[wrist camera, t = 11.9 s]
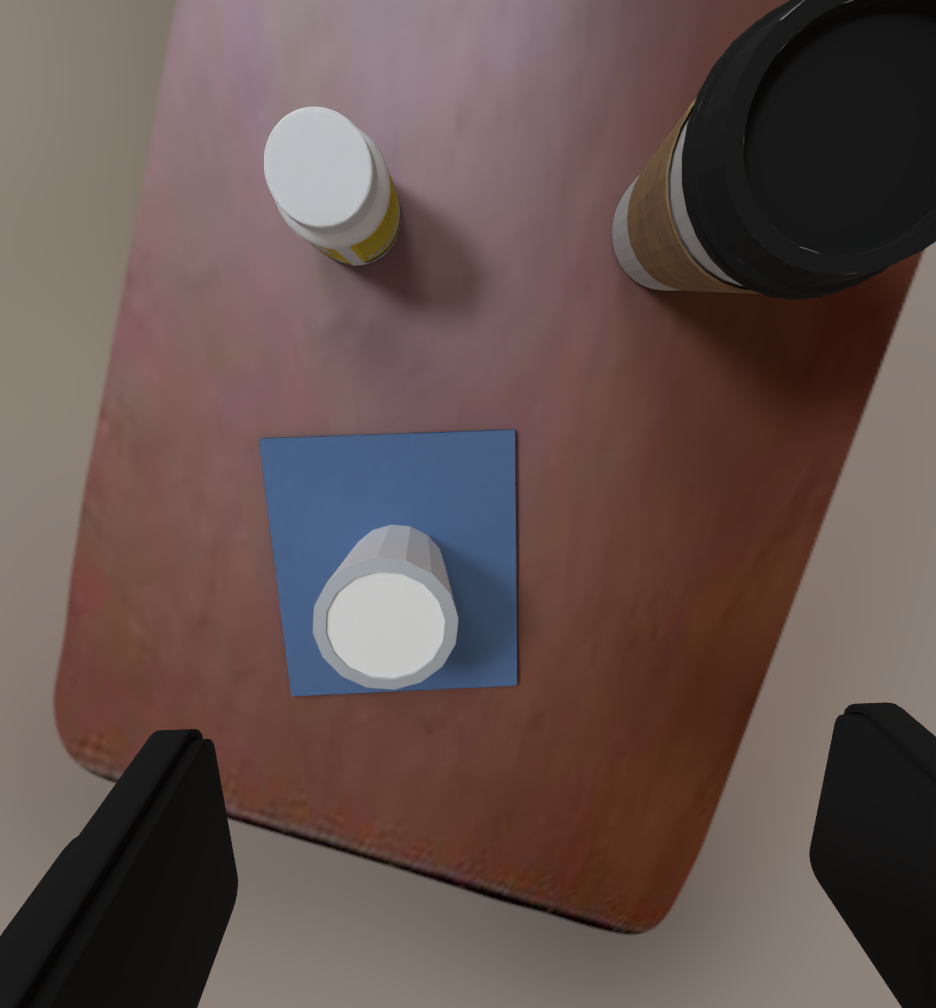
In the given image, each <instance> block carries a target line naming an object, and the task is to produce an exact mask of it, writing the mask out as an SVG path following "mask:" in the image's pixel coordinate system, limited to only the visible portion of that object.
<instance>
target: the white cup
mask: <svg viewBox="0 0 936 1008" xmlns="http://www.w3.org/2000/svg"><path fill="white" fill-rule="evenodd" d="M457 628H458V615H457V611H456V607H455V603H454V599H453V595H452V591H451V587H450V583H449V579H448V575H447V571H446V566H445V563H444V560H443V557H442V554H441V551H440V548H439V547H438V546H437V545H436V544H435V543H434V542H433V541H432V539H431V538H430V537H429V536H428V535H427V534H425V533H423V532H421V531H419V530H417V529H415V528H413V527H411V526H401V525H388V526H385V527H381V528H378V529H374V530H372V531H371V532H370V533H368V534H367V535H366V536H365V537H363V538H362V539H361V540H360V541H358V543H357V544H356V545H355V547H354V548H353V549H352V550H351V552H350V553H349V554H348V556H347V557H346V558H345V560H344V561H343V562H342V563H341V565H340V566H339V567H338V569H337V570H336V571H335V573H334V574H333V575H332V576H331V578H330V579H329V580H328V582H327V583H326V585H325V586H324V588H323V590H322V592H321V594H320V596H319V598H318V600H317V602H316V604H315V606H314V614H313V635H314V637H315V640H316V642H317V645H318V647H319V650H320V652H321V655H322V657H323V658H324V659H325V660H326V661H327V662H328V663H329V664H330V665H331V666H332V667H333V668H334V669H335V670H336V671H337V672H338V673H339V674H340V675H341V676H342V677H344V678H346V679H349V680H351V681H353V682H355V683H358V684H360V685H362V686H364V687H367V688H379V689H393V690H395V689H399V688H402V687H406V686H409V685H413V684H417V683H420V682H422V681H423V680H425V679H426V678H427V677H429V676H430V675H432V674H433V673H434V672H436V671H437V670H438V669H440V668H441V667H442V666H443V665H444V663H445V661H446V660H447V658H448V656H449V655H450V653H451V651H452V650H453V648H454V646H455V644H456V637H457Z"/></svg>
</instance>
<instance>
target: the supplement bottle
mask: <svg viewBox="0 0 936 1008" xmlns="http://www.w3.org/2000/svg"><path fill="white" fill-rule="evenodd" d="M264 172H265V177H266V182H267V185H268V187H269V190H270V192H271V194H272V196H273V198H274V199H275V202H276V205H277V208H278V210H279V212H280V214H281V215H282V217H283V219H284V220H285V222H286V223H287V224H288V225H289V227H290V228H291V229H292V230H293V231H294V232H295V233H296V234H297V235H299V236H300V237H301V238H302V239H304V240H305V241H307V242H308V243H310V244H311V245H312V246H314V247H315V248H317V249H318V250H320V251H321V252H322V253H324V254H325V255H327V256H328V257H329V258H331V259H333V260H335V261H337V262H340V263H342V264H346V265H353V266H357V265H365V264H369V263H372V262H374V261H376V260H378V259H379V258H381V257H382V256H384V255H385V254H386V253H387V252H388V251H389V250H390V249H391V247H392V246H393V244H394V243H395V241H396V239H397V236H398V234H399V230H400V225H401V208H400V202H399V198H398V195H397V192H396V190H395V187H394V184H393V181H392V179H391V176H390V173H389V170H388V168H387V165H386V162H385V160H384V157H383V155H382V154H381V152H380V150H379V149H378V147H377V146H376V145H375V143H374V142H373V141H372V140H371V139H370V138H369V137H368V136H367V135H366V134H365V133H364V132H363V131H361V130H360V129H358V128H357V127H356V126H355V125H354V124H353V123H352V122H351V121H350V120H349V119H347V118H346V117H345V116H343V115H341V114H340V113H338V112H336V111H333V110H331V109H327V108H323V107H305V108H301V109H298V110H295V111H293V112H291V113H289V114H288V115H286V116H285V117H284V118H282V119H281V120H280V121H279V122H278V124H277V125H276V126H275V127H274V129H273V130H272V132H271V134H270V136H269V138H268V141H267V144H266V148H265V153H264Z"/></svg>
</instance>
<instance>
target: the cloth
mask: <svg viewBox="0 0 936 1008" xmlns="http://www.w3.org/2000/svg"><path fill="white" fill-rule="evenodd" d="M259 445H260V453H261V461H262V469H263V477H264V484H265V492H266V500H267V508H268V516H269V524H270V532H271V539H272V547H273V555H274V563H275V571H276V579H277V587H278V594H279V602H280V610H281V618H282V626H283V634H284V642H285V649H286V657H287V665H288V673H289V681H290V689H291V696H309V695H330V694H350V693H371V692H392V691H413V690H433V689H454V688H475V687H496V686H516V685H517V583H516V446H515V430H514V429H511V430H483V431H454V432H426V433H397V434H369V435H340V436H311V437H283V438H261V439H259ZM388 525H401V526H411V527H413V528H415V529H417V530H419V531H421V532H423V533H425V534H427V535H428V536H429V537H430V538H431V539H432V541H433V542H434V543H435V544H436V545H437V546H438V547H439V548H440V551H441V554H442V557H443V560H444V563H445V566H446V571H447V575H448V579H449V583H450V587H451V591H452V595H453V599H454V603H455V607H456V611H457V615H458V628H457V637H456V644H455V646H454V648H453V650H452V651H451V653H450V655H449V656H448V658H447V660H446V661H445V663H444V665H443V666H442V667H441V668H440V669H438V670H437V671H436V672H434V673H433V674H432V675H430V676H429V677H427V678H426V679H425V680H423V681H422V682H420V683H417V684H413V685H409V686H406V687H402V688H399V689H395V690H393V689H379V688H367V687H364V686H362V685H360V684H358V683H355V682H353V681H351V680H349V679H346V678H344V677H342V676H341V675H340V674H339V673H338V672H337V671H336V670H335V669H334V668H333V667H332V666H331V665H330V664H329V663H328V662H327V661H326V660H325V659H324V658H323V657H322V655H321V652H320V650H319V647H318V645H317V642H316V640H315V637H314V635H313V614H314V606H315V604H316V602H317V600H318V598H319V596H320V594H321V592H322V590H323V588H324V586H325V585H326V583H327V582H328V580H329V579H330V578H331V576H332V575H333V574H334V573H335V571H336V570H337V569H338V567H339V566H340V565H341V563H342V562H343V561H344V560H345V558H346V557H347V556H348V554H349V553H350V552H351V550H352V549H353V548H354V547H355V545H356V544H357V543H358V541H360V540H361V539H362V538H363V537H365V536H366V535H367V534H368V533H370V532H371V531H372V530H374V529H378V528H381V527H385V526H388Z"/></svg>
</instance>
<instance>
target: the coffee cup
mask: <svg viewBox="0 0 936 1008" xmlns="http://www.w3.org/2000/svg"><path fill="white" fill-rule="evenodd" d="M935 241H936V0H790V1H788V2H787V3H785V4H783V5H781V6H780V7H778V8H776V9H774V10H773V11H771V12H769V13H768V14H766V15H765V16H764V17H763V18H761V19H760V20H758V21H756V22H755V23H754V24H753V25H752V26H751V27H749V28H748V29H747V30H746V31H745V32H744V33H743V34H741V35H740V36H739V37H738V38H737V39H736V40H734V41H733V42H732V44H731V45H730V46H729V47H728V49H727V50H726V51H725V52H724V54H723V55H722V56H721V57H720V59H719V60H718V61H717V62H716V63H715V65H714V66H713V67H712V69H711V71H710V73H709V75H708V77H707V78H706V80H705V82H704V84H703V86H702V87H701V89H700V91H699V93H698V95H697V97H696V98H695V100H694V101H693V102H692V103H691V105H690V106H689V107H688V109H687V110H686V111H685V113H684V114H683V115H682V117H681V118H680V119H679V121H678V122H677V124H676V125H675V126H674V128H673V129H672V130H671V132H670V133H669V134H668V136H667V137H666V138H665V140H664V141H663V142H662V144H661V145H660V147H659V148H658V149H657V151H656V152H655V153H654V155H653V156H652V157H651V159H650V160H649V161H648V163H647V164H646V165H645V167H644V168H643V170H642V171H641V173H640V174H639V176H638V177H637V178H636V179H635V180H634V182H633V183H632V184H631V185H630V187H629V188H628V189H627V190H626V192H625V193H624V195H623V197H622V198H621V200H620V202H619V204H618V206H617V209H616V212H615V215H614V220H613V226H612V242H613V246H614V251H615V254H616V257H617V259H618V261H619V264H620V265H621V267H622V268H623V269H624V271H625V272H626V273H627V274H628V275H629V276H630V277H631V278H632V279H633V280H634V281H636V282H637V283H639V284H641V285H642V286H645V287H648V288H651V289H655V290H664V291H677V290H685V291H700V292H725V293H749V294H764V295H767V296H770V297H776V298H785V299H793V300H797V299H807V298H817V297H822V296H825V295H829V294H832V293H835V292H838V291H841V290H844V289H846V288H849V287H852V286H855V285H858V284H860V283H862V282H863V281H865V280H867V279H869V278H871V277H873V276H875V275H877V274H879V273H881V272H883V271H884V270H885V269H887V268H888V267H889V266H891V265H893V264H895V263H897V262H899V261H901V260H903V259H906V258H908V257H910V256H912V255H914V254H916V253H918V252H920V251H922V250H924V249H925V248H927V247H928V246H930V245H931V244H933V243H934V242H935Z"/></svg>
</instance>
